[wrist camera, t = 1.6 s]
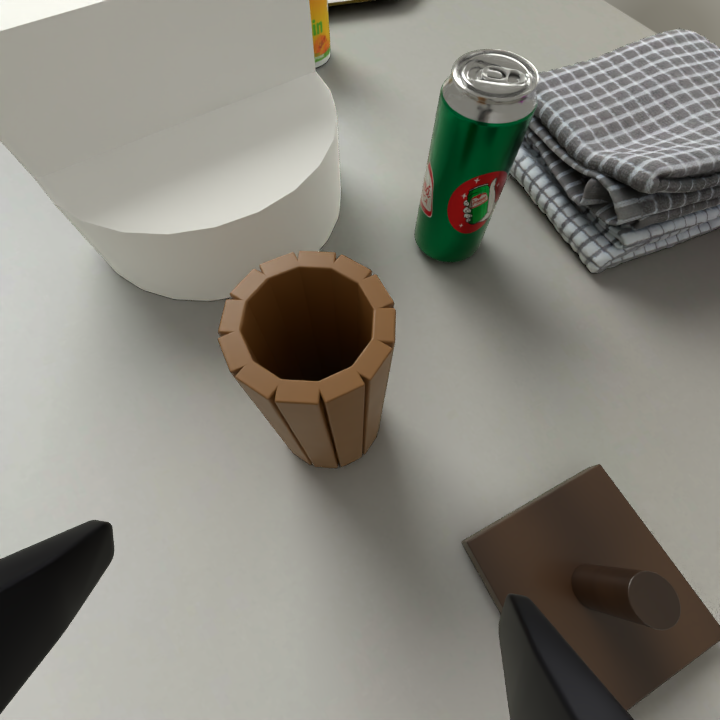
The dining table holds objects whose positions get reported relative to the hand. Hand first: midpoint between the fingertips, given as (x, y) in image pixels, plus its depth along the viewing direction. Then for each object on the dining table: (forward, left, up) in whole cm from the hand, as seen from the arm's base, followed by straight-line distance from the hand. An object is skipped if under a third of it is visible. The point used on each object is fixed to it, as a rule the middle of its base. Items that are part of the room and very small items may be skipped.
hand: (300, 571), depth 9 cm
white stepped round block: (+3, +28, -14) cm, 31 cm away
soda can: (+17, +16, -14) cm, 27 cm away
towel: (+34, +15, -14) cm, 39 cm away
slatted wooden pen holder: (+3, +7, -14) cm, 15 cm away
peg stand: (+11, -7, -14) cm, 19 cm away
